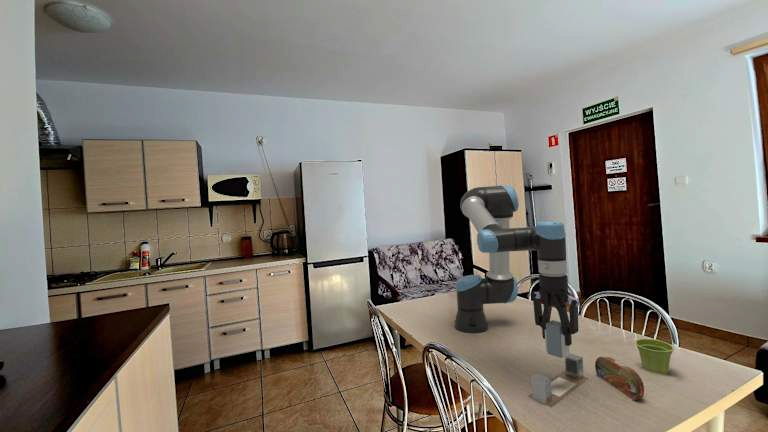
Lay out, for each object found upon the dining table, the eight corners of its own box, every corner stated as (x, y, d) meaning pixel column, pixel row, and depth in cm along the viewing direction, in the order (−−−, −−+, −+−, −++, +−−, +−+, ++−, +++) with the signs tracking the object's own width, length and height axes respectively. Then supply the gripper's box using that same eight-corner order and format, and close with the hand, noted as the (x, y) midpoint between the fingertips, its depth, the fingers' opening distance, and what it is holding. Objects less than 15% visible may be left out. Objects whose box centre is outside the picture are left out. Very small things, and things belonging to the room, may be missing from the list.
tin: (594, 378, 101) (593, 352, 100) (604, 377, 101) (602, 351, 101) (636, 407, 86) (635, 376, 85) (647, 406, 86) (645, 375, 86)
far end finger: (564, 375, 101) (563, 356, 101) (570, 371, 103) (569, 353, 103) (578, 380, 98) (577, 361, 98) (583, 376, 100) (582, 357, 100)
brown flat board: (527, 400, 92) (527, 395, 92) (565, 373, 104) (565, 369, 104) (552, 411, 86) (551, 406, 86) (589, 382, 99) (589, 377, 99)
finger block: (547, 353, 96) (545, 323, 95) (555, 348, 98) (554, 319, 98) (561, 358, 92) (559, 327, 92) (569, 353, 95) (567, 322, 95)
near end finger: (532, 398, 91) (531, 377, 91) (539, 393, 93) (538, 372, 93) (546, 404, 87) (545, 382, 87) (553, 399, 89) (551, 378, 89)
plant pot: (678, 382, 96) (677, 353, 96) (638, 375, 101) (637, 347, 101) (671, 368, 104) (670, 341, 103) (634, 362, 109) (633, 336, 108)
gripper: (518, 272, 100) (523, 347, 100) (577, 280, 86) (582, 367, 86) (532, 268, 104) (536, 341, 104) (590, 275, 90) (595, 358, 90)
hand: (557, 352), depth 95 cm, fingers closed on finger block, 4 cm apart
